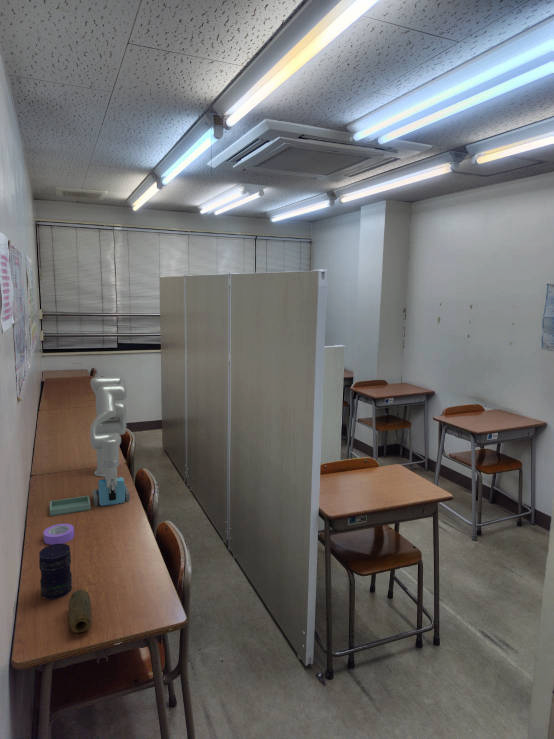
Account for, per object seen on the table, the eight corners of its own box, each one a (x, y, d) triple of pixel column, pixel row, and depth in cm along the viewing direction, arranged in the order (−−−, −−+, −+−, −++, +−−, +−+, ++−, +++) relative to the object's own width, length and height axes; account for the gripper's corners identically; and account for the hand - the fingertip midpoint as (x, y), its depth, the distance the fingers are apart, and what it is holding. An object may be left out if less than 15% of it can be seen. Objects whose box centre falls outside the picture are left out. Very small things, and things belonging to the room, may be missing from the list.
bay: (92, 497, 239) (92, 489, 238) (126, 492, 246) (126, 485, 245) (94, 506, 229) (94, 498, 228) (129, 501, 236) (129, 493, 235)
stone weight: (66, 609, 154) (65, 590, 153) (89, 603, 157) (88, 585, 156) (70, 638, 141) (69, 618, 140) (95, 631, 144) (94, 611, 143)
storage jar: (40, 602, 157) (37, 561, 155) (41, 585, 166) (39, 546, 164) (72, 595, 161) (70, 555, 159) (72, 579, 170) (70, 541, 168)
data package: (124, 499, 237) (123, 476, 236) (125, 502, 233) (124, 480, 231) (99, 502, 233) (98, 479, 231) (99, 506, 229) (98, 483, 227)
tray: (50, 507, 227) (49, 501, 227) (89, 501, 234) (89, 495, 234) (49, 516, 218) (49, 510, 217) (90, 510, 225) (90, 504, 225)
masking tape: (39, 538, 199) (38, 529, 198) (67, 528, 207) (66, 520, 206) (50, 548, 191) (50, 539, 190) (79, 538, 199) (78, 529, 199)
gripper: (101, 458, 236) (102, 492, 239) (104, 469, 221) (105, 506, 223) (116, 456, 239) (117, 490, 242) (121, 467, 224) (122, 503, 227)
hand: (111, 497), depth 233 cm, fingers closed on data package, 4 cm apart
